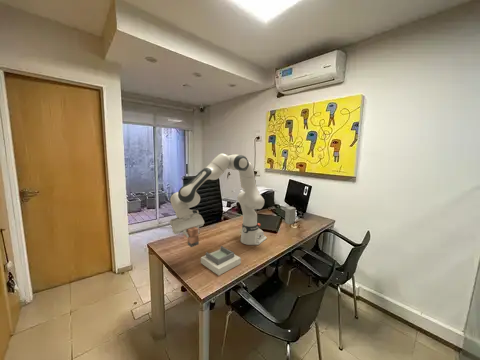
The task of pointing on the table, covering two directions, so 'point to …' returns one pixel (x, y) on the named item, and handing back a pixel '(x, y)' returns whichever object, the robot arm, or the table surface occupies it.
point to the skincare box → (290, 215)
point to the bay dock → (220, 260)
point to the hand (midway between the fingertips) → (193, 235)
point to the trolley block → (193, 236)
